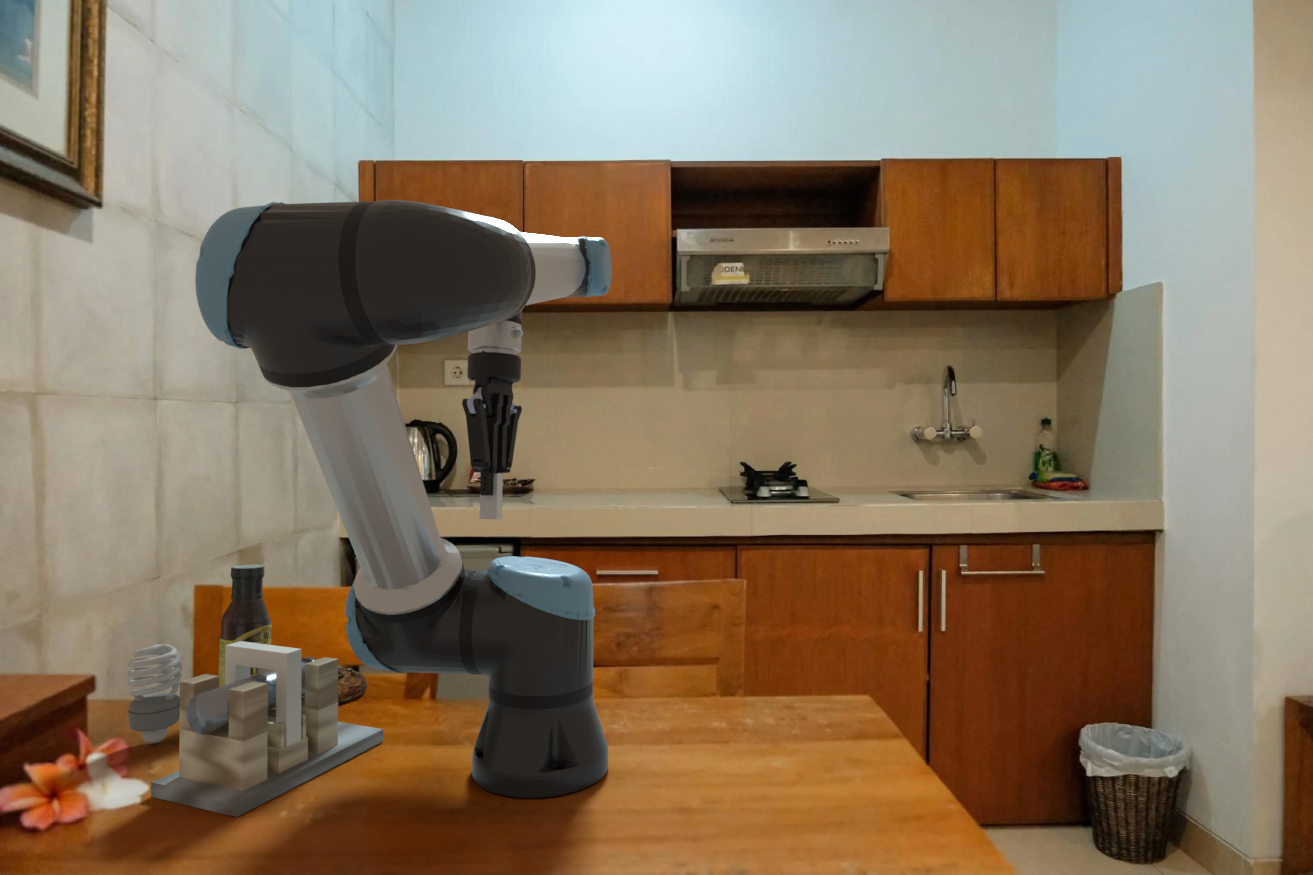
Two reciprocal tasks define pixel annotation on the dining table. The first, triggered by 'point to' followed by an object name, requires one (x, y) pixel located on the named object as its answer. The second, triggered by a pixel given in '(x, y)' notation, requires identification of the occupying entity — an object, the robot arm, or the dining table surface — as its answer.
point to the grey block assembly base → (260, 745)
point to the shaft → (214, 705)
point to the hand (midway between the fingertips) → (490, 518)
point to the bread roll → (350, 685)
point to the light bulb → (158, 708)
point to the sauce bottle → (244, 614)
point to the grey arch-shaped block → (287, 679)
